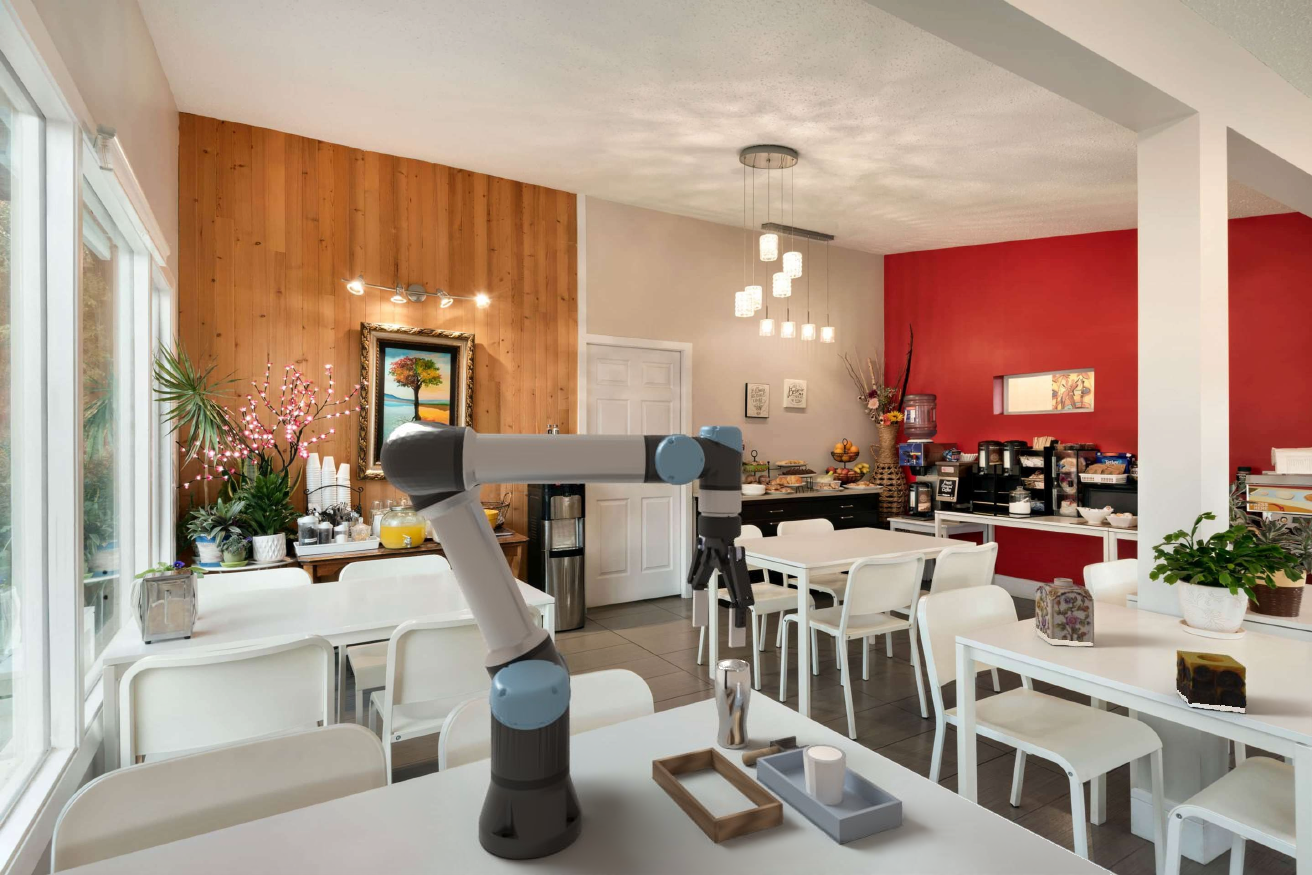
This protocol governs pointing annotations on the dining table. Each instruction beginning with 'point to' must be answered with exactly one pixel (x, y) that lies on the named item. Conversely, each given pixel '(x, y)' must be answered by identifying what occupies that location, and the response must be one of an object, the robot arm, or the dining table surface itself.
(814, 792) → the white faceted cup
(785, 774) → the bin
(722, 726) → the silver metal tumbler
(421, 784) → the dining table surface
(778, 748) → the hand scoop
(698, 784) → the dining table surface
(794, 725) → the dining table surface
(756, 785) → the walnut frame
